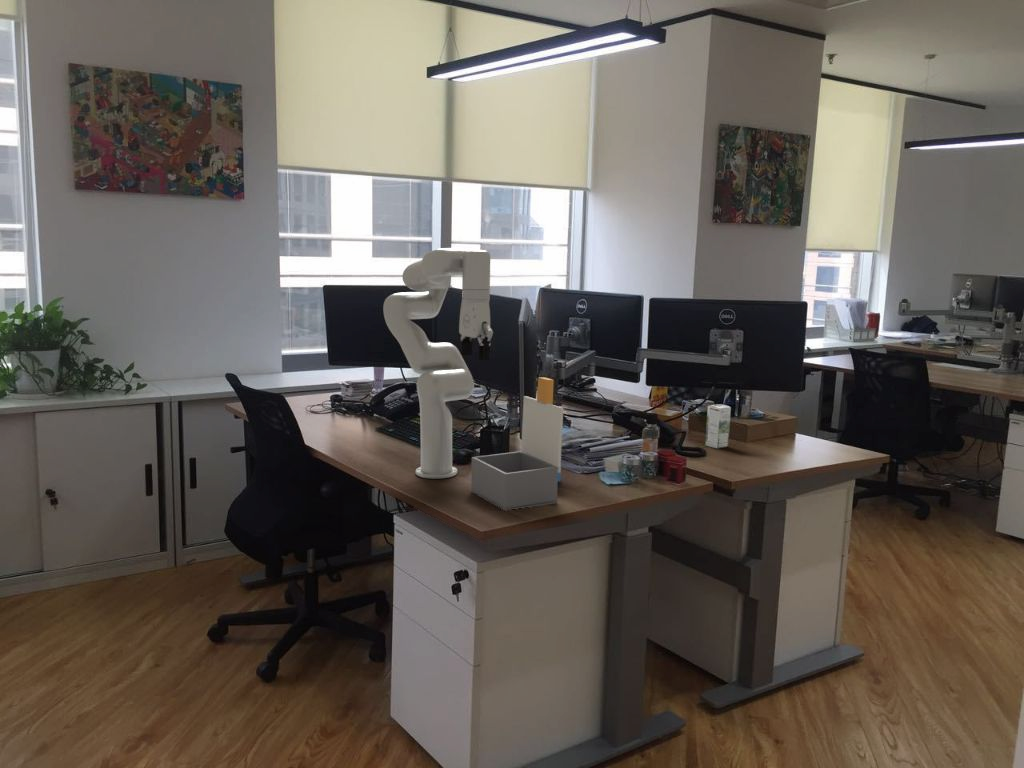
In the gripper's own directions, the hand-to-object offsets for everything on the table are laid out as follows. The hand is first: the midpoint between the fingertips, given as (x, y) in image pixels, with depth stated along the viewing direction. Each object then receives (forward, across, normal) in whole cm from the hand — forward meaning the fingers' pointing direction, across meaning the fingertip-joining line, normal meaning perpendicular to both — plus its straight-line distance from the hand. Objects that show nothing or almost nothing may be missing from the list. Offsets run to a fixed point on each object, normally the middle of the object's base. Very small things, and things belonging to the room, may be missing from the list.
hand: (475, 357), depth 236 cm
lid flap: (+16, +12, +15) cm, 25 cm away
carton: (+38, +12, +6) cm, 40 cm away
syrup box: (+38, -5, +100) cm, 107 cm away
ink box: (+38, +2, +24) cm, 45 cm away
